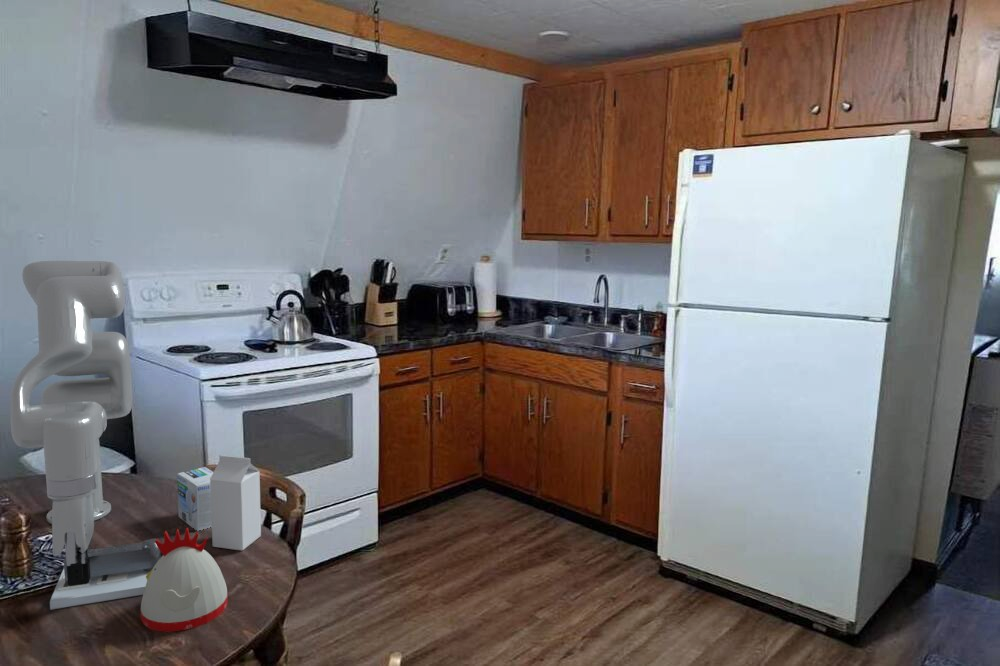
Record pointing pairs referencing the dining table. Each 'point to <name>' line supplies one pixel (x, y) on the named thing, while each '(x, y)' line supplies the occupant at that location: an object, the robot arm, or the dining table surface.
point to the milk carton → (235, 503)
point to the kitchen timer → (183, 586)
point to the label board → (99, 589)
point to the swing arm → (122, 558)
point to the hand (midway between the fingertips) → (79, 582)
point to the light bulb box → (195, 498)
